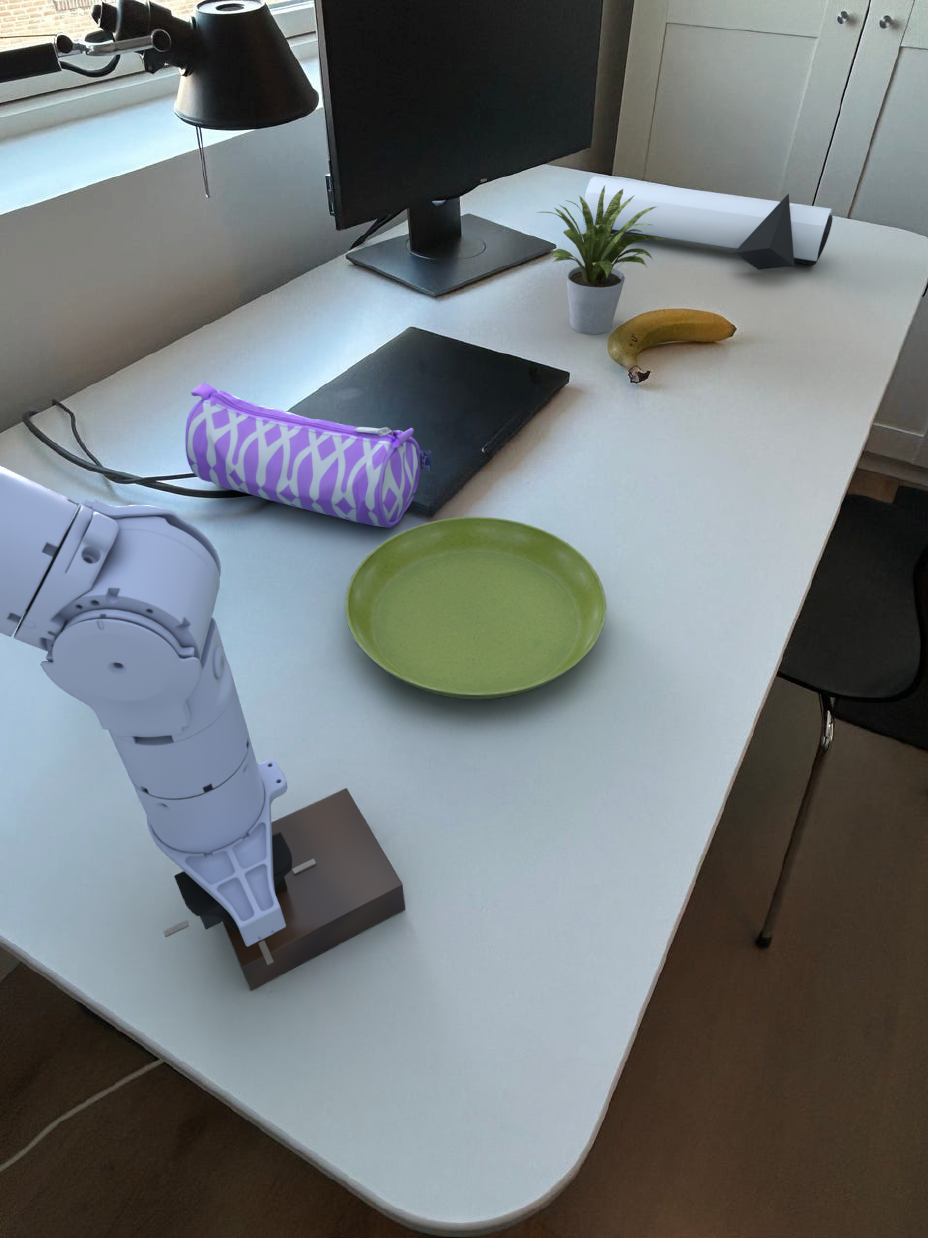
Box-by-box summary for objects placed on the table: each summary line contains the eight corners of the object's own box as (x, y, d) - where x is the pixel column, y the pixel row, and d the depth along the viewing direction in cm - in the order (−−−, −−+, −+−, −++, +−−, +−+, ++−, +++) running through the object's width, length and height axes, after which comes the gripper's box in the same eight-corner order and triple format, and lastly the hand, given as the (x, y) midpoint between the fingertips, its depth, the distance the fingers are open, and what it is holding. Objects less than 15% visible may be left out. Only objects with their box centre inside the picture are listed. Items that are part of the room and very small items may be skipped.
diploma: (583, 251, 137) (562, 219, 124) (599, 190, 135) (580, 151, 123) (814, 290, 126) (817, 259, 113) (835, 224, 124) (840, 184, 112)
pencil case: (434, 492, 85) (431, 406, 79) (398, 550, 79) (391, 461, 72) (234, 452, 91) (215, 368, 84) (185, 503, 84) (161, 416, 78)
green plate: (312, 696, 66) (307, 667, 64) (390, 531, 81) (387, 502, 79) (585, 743, 63) (589, 714, 61) (615, 562, 77) (619, 533, 75)
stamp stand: (201, 1029, 49) (188, 1005, 47) (155, 897, 55) (141, 870, 52) (410, 917, 53) (407, 891, 51) (347, 807, 59) (342, 779, 57)
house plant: (561, 364, 104) (572, 221, 92) (509, 317, 113) (513, 181, 102) (663, 340, 108) (685, 200, 97) (605, 296, 117) (619, 164, 106)
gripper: (329, 825, 39) (357, 964, 48) (218, 627, 48) (260, 777, 57) (171, 901, 36) (234, 1033, 45) (85, 677, 45) (152, 825, 54)
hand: (241, 894), depth 51 cm, fingers open, 3 cm apart
